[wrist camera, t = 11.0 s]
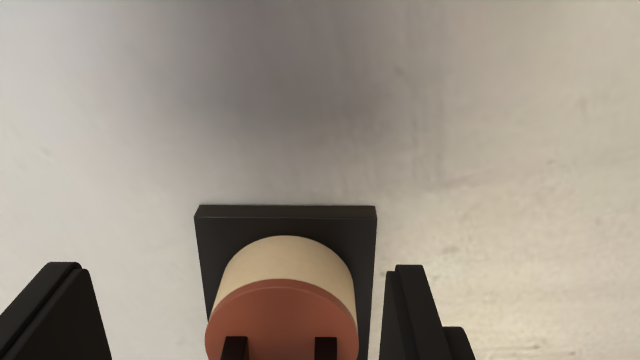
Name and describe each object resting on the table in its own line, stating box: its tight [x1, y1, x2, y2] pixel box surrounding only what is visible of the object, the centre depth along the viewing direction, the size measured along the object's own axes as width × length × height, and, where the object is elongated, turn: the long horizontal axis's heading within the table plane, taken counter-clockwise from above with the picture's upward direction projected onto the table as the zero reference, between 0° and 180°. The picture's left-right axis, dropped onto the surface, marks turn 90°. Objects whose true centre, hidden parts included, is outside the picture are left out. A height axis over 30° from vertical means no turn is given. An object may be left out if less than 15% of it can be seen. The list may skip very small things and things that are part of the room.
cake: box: [205, 236, 359, 360], centre depth 23 cm, size 7×7×4 cm
